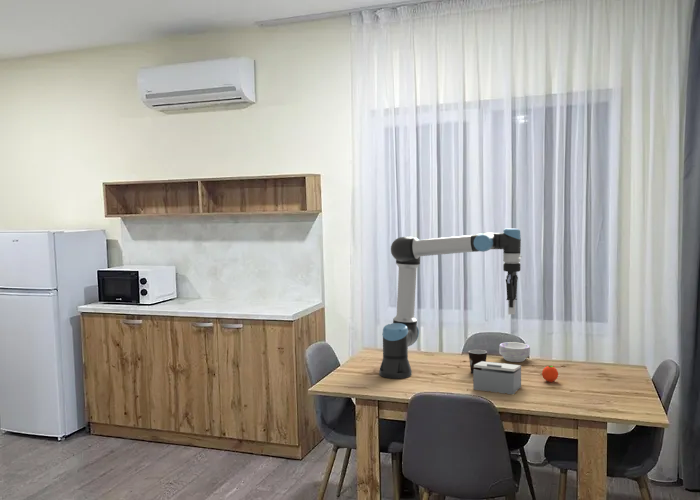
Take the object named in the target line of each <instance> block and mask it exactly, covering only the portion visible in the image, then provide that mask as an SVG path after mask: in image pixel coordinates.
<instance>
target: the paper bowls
mask: <svg viewBox="0 0 700 500" xmlns="http://www.w3.org/2000/svg"><path fill="white" fill-rule="evenodd" d="M498 347H499V351H498V352H499V355H501V356H502V357H503V359H504V360H505V361H507V362H511V363H522V362H524V361H525V360H526V358H527V357H530V355H531V345H529V344H526V343H522V342H518V341H517V342H516V341H512V342H511V341H509V342H508V341H507V342H501V343H500V344H499V346H498Z"/></svg>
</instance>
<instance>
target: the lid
mask: <svg viewBox="0 0 700 500" xmlns="http://www.w3.org/2000/svg"><path fill="white" fill-rule="evenodd" d="M493 362H494V361H486V362H483V361H481V362H479V363H477V364H475V365H474V367H477V368H486V369H495V370H504V371H513V372H514V371H516V370H518V369H519V368H521V369H522V364H515V365H512V364H513V363H505V364H502V363H503V362H496V363H493Z"/></svg>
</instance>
